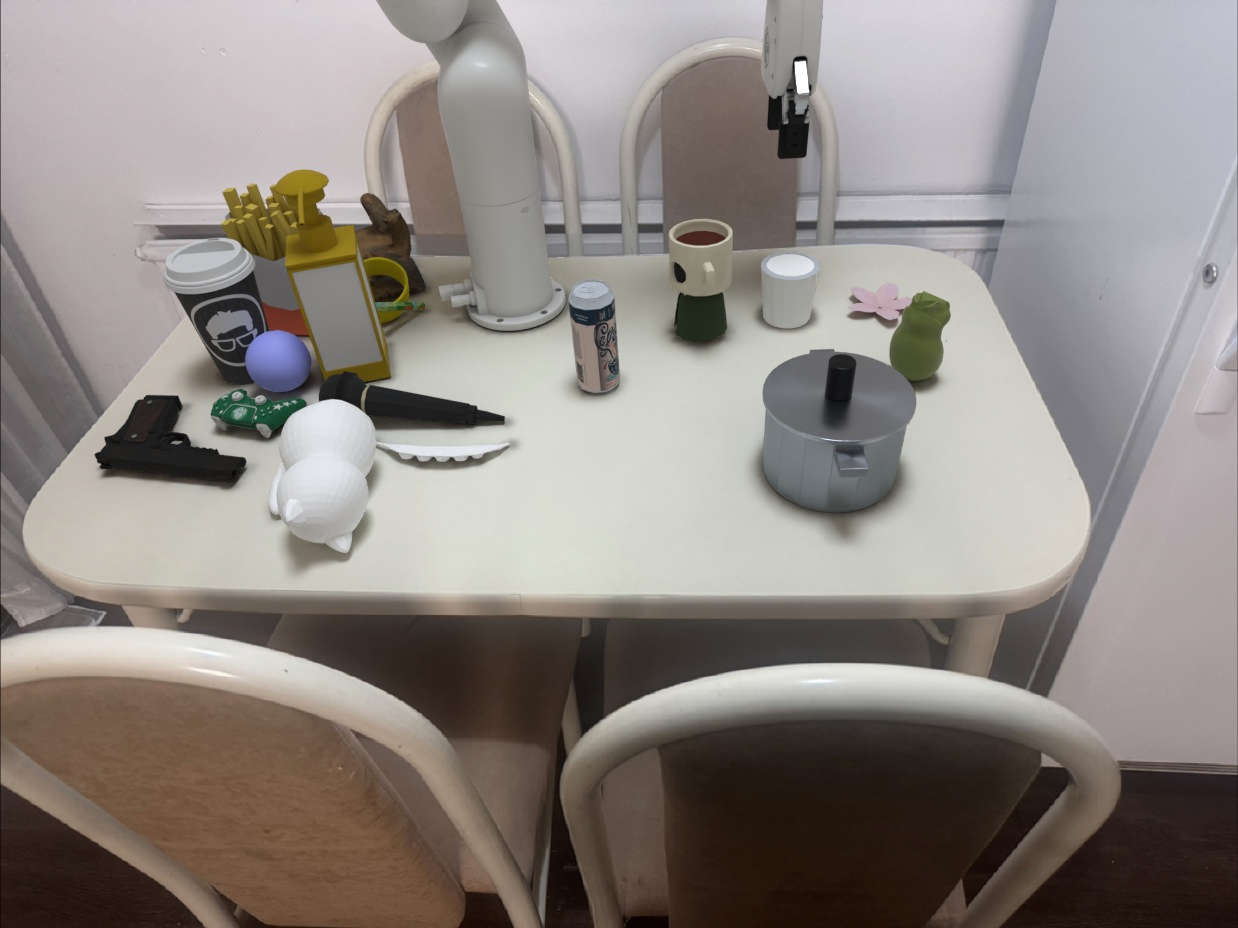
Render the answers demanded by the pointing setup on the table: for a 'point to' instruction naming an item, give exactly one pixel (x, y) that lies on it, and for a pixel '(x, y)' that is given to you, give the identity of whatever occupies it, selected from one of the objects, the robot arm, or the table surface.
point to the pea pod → (442, 451)
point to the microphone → (399, 402)
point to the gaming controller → (253, 411)
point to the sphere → (278, 361)
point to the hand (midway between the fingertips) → (785, 141)
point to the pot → (829, 468)
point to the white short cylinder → (788, 288)
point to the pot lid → (839, 398)
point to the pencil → (400, 306)
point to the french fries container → (267, 251)
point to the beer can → (594, 336)
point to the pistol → (163, 445)
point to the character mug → (700, 277)
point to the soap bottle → (332, 285)
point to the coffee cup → (219, 300)
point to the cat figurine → (324, 472)
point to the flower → (880, 301)
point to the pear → (920, 337)
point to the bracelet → (393, 270)
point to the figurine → (388, 248)
